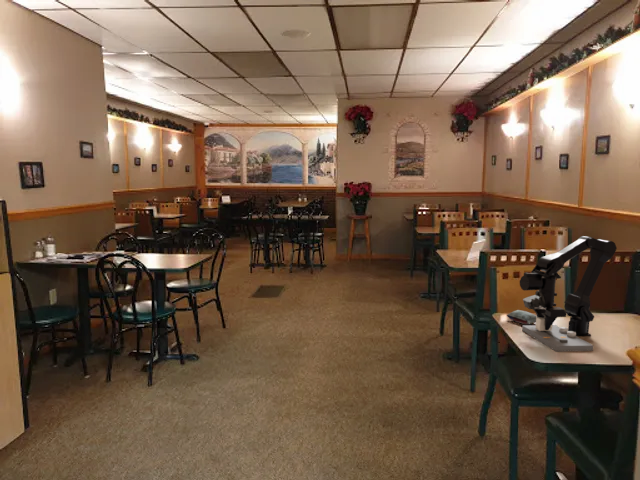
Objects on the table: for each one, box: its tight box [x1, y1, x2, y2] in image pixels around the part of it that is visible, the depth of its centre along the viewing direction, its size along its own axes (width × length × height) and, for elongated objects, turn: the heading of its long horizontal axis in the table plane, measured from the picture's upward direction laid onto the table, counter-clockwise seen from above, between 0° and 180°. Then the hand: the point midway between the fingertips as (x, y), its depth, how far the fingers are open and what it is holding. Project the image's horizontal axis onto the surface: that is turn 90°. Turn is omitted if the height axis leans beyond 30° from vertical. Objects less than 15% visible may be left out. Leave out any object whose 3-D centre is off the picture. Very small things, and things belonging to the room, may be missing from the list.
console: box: [521, 324, 594, 352], centre depth 183 cm, size 24×14×4 cm, turn 5°
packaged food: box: [506, 309, 537, 325], centre depth 205 cm, size 9×12×5 cm
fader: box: [535, 317, 553, 331], centre depth 188 cm, size 3×5×5 cm, turn 95°
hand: (543, 328), depth 188 cm, fingers open, 4 cm apart
